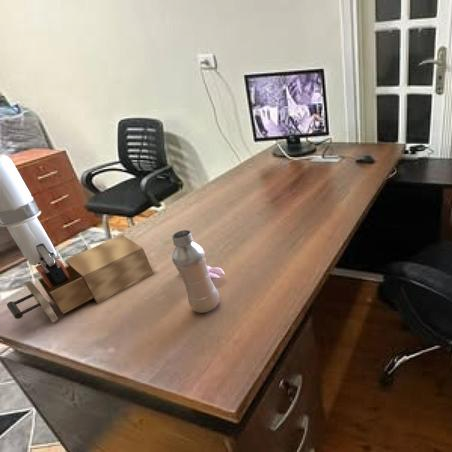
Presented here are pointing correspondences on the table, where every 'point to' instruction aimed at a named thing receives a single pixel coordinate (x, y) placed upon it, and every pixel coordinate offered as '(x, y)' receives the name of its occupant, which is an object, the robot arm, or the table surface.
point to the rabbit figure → (214, 272)
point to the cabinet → (111, 266)
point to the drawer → (56, 295)
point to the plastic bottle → (194, 272)
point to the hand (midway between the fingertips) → (56, 278)
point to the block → (44, 277)
